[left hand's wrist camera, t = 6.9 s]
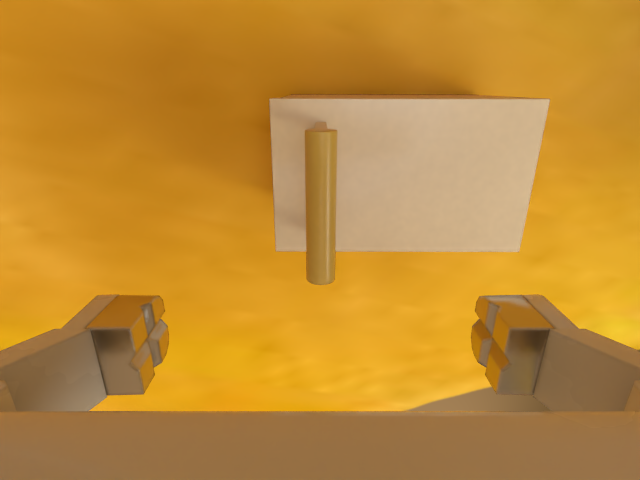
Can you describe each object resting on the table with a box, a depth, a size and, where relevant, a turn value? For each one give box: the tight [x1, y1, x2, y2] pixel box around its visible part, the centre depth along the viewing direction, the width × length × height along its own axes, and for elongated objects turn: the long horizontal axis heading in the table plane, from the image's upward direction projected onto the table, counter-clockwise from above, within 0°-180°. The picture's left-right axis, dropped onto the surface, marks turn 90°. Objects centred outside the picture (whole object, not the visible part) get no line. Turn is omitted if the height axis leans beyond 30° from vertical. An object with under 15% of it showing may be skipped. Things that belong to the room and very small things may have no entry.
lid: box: [269, 98, 550, 285], centre depth 22 cm, size 17×10×8 cm, turn 90°
